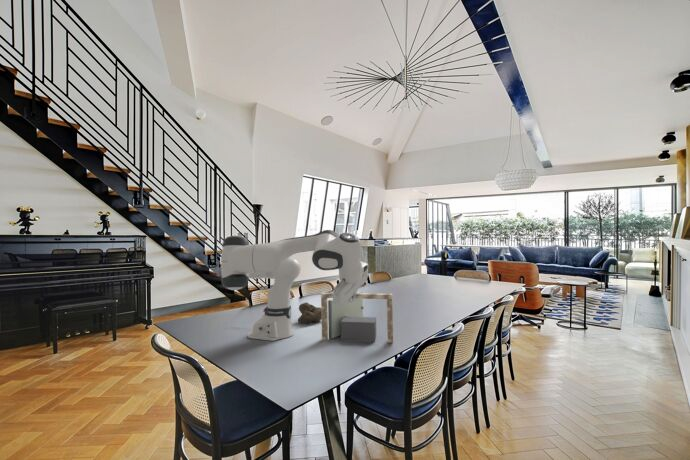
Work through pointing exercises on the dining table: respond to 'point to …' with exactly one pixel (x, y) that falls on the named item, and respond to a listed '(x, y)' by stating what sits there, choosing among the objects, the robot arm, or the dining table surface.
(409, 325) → the dining table surface
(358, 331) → the block
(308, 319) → the decorative stone
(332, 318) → the door
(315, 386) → the dining table surface
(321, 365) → the dining table surface
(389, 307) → the door frame
